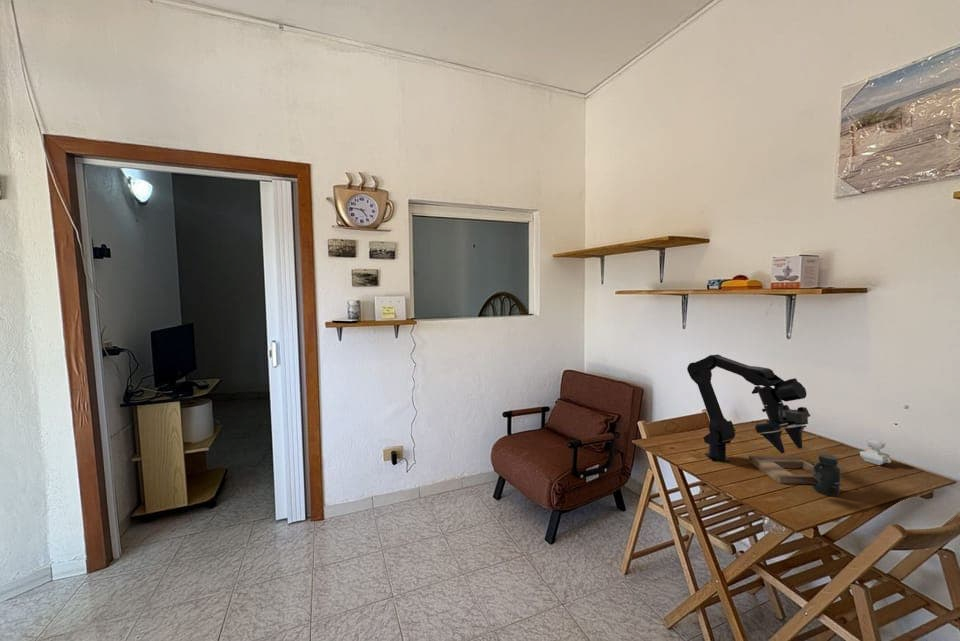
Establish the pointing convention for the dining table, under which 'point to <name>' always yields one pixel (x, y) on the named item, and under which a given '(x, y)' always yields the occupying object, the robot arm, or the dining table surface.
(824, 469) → the supplement bottle
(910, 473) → the dining table surface
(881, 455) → the stamp
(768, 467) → the tan flat square frame
